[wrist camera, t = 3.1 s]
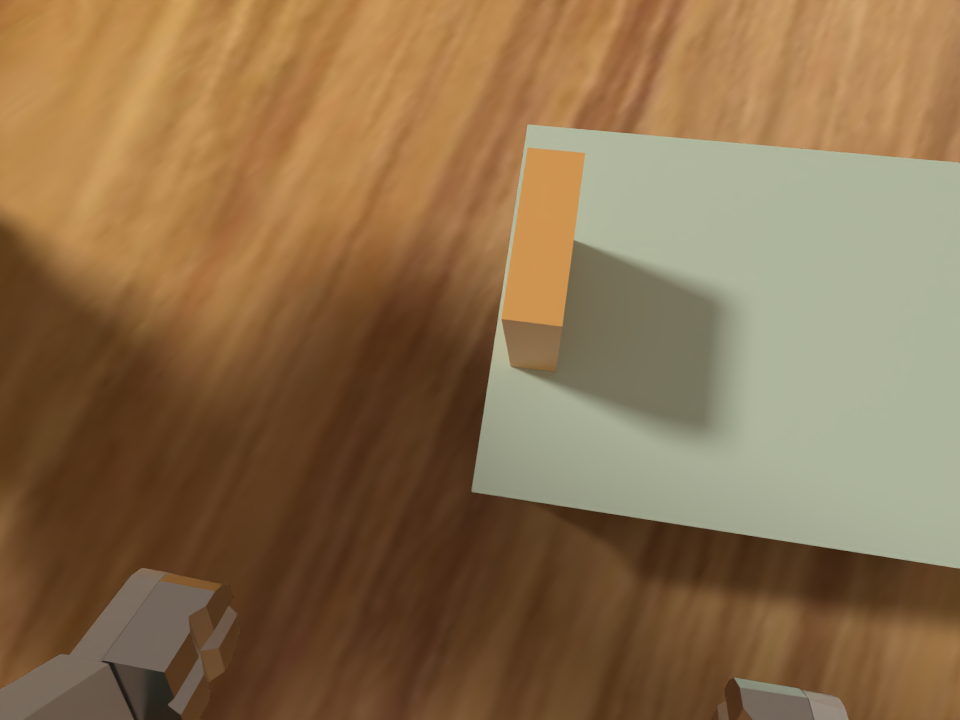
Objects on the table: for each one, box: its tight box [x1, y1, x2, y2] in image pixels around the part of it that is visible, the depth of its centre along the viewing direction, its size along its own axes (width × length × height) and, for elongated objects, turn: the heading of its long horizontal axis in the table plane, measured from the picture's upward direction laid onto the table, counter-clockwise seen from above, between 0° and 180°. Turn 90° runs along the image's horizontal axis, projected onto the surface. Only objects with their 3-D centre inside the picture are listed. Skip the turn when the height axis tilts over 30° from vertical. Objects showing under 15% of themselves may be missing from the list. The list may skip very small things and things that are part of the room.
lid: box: [471, 125, 960, 569], centre depth 20 cm, size 19×14×8 cm
